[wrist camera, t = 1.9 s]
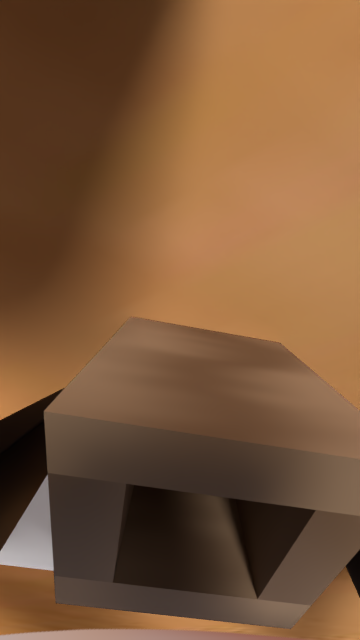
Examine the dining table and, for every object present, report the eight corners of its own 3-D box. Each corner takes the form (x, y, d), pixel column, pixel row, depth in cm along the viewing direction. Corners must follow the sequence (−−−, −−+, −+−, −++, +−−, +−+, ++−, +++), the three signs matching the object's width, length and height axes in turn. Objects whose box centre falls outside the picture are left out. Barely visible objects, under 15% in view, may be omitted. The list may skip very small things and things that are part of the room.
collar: (280, 342, 8) (429, 469, 3) (238, 450, 10) (290, 628, 5) (131, 316, 8) (43, 410, 3) (118, 432, 10) (55, 603, 5)
